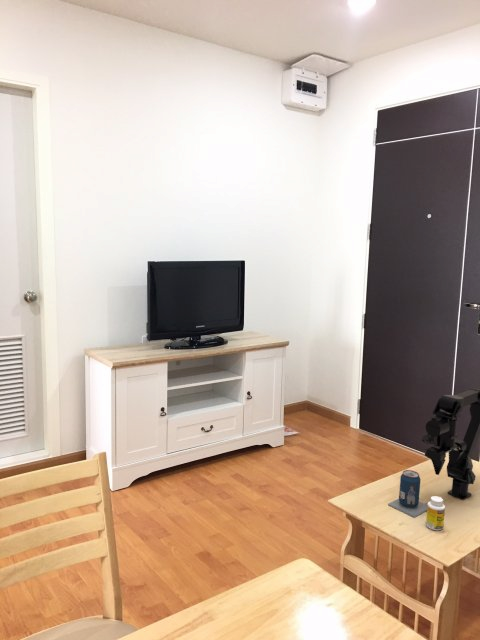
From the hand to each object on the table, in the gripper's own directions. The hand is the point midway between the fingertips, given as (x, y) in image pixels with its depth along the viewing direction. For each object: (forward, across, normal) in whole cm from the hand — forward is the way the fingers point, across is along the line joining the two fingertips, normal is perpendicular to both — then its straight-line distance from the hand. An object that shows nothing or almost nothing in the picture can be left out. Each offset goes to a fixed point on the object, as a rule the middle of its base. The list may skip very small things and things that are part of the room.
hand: (444, 471), depth 194 cm
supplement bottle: (+13, +16, +7) cm, 22 cm away
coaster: (+13, +11, -6) cm, 18 cm away
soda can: (+13, +11, -7) cm, 18 cm away
